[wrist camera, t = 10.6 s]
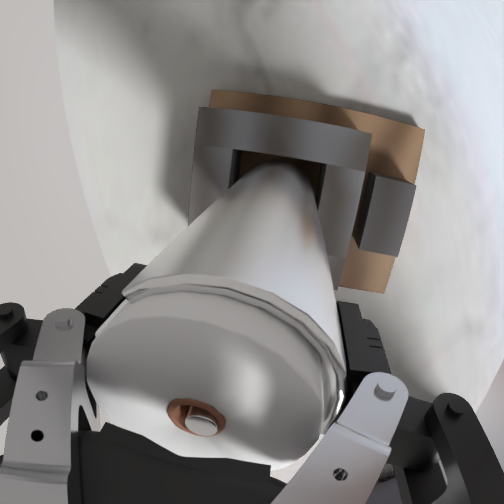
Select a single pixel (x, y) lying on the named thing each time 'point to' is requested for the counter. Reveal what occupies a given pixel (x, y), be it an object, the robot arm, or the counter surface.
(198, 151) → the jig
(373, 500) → the bluetooth speaker
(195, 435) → the paper towel roll
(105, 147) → the counter surface
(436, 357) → the counter surface
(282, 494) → the robot arm
